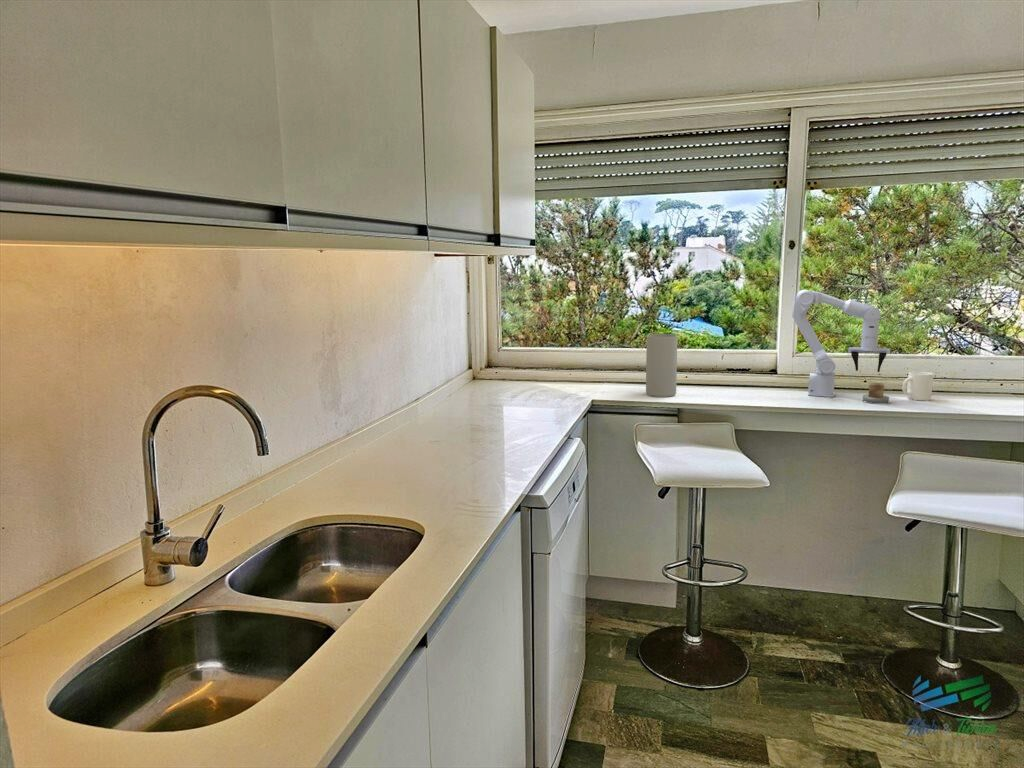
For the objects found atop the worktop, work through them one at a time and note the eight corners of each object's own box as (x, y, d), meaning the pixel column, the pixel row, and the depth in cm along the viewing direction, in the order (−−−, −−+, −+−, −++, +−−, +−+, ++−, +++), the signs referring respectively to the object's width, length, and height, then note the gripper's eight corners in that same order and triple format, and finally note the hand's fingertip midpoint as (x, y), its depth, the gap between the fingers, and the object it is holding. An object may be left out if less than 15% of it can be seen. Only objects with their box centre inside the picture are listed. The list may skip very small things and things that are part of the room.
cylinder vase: (679, 397, 279) (680, 336, 274) (648, 397, 279) (649, 337, 275) (672, 391, 291) (673, 333, 287) (643, 392, 291) (644, 334, 287)
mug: (909, 402, 260) (911, 375, 258) (893, 398, 268) (895, 372, 266) (936, 400, 262) (938, 374, 260) (919, 396, 270) (921, 370, 268)
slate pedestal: (861, 402, 261) (862, 397, 260) (863, 398, 268) (863, 393, 268) (888, 404, 256) (888, 399, 256) (889, 400, 264) (889, 395, 263)
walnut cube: (868, 397, 261) (869, 384, 260) (868, 394, 265) (869, 382, 264) (883, 398, 258) (884, 385, 257) (883, 395, 262) (884, 383, 262)
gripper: (848, 337, 268) (846, 371, 270) (890, 338, 260) (887, 373, 263) (850, 335, 274) (848, 369, 276) (891, 336, 266) (888, 370, 269)
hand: (867, 371), depth 270 cm, fingers open, 7 cm apart
